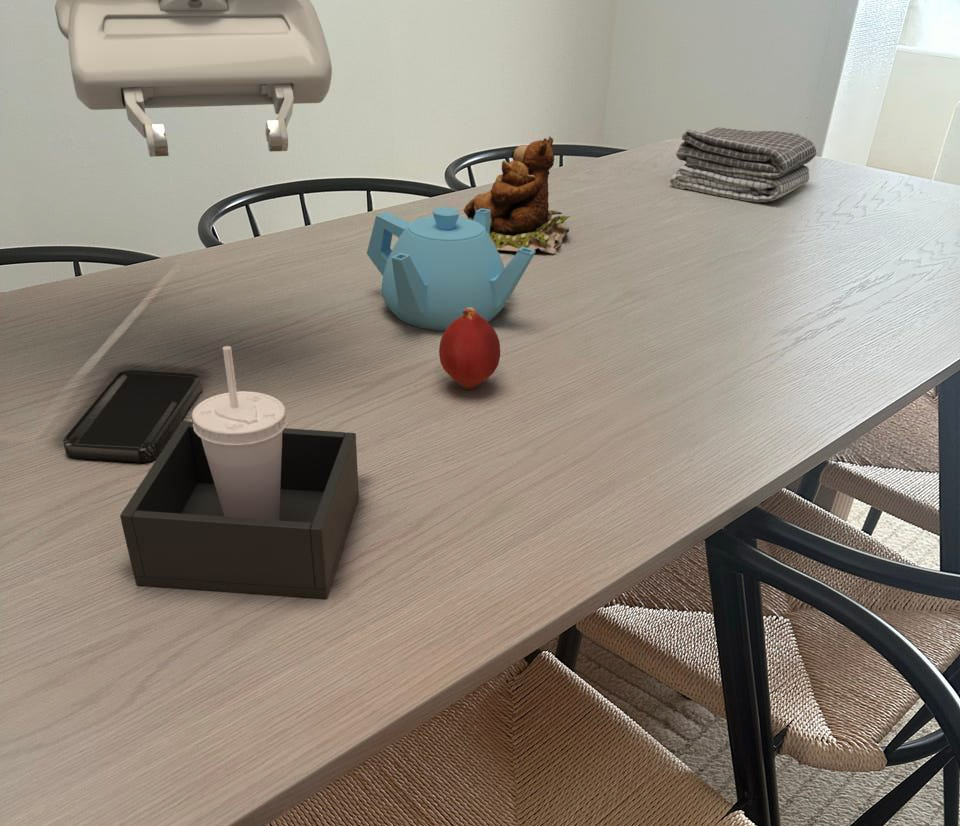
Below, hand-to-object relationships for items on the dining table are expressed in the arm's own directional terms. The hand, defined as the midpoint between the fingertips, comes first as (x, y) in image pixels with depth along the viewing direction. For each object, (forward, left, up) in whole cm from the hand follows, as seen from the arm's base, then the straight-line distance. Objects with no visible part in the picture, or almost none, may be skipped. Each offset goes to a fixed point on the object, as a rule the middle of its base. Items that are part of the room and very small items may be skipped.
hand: (219, 149), depth 79 cm
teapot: (+16, +24, -22) cm, 36 cm away
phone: (-9, -6, -21) cm, 24 cm away
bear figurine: (+22, +51, -22) cm, 60 cm away
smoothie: (+6, -23, -21) cm, 32 cm away
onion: (+20, +5, -22) cm, 30 cm away
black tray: (+6, -23, -21) cm, 32 cm away
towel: (+56, +82, -22) cm, 102 cm away
